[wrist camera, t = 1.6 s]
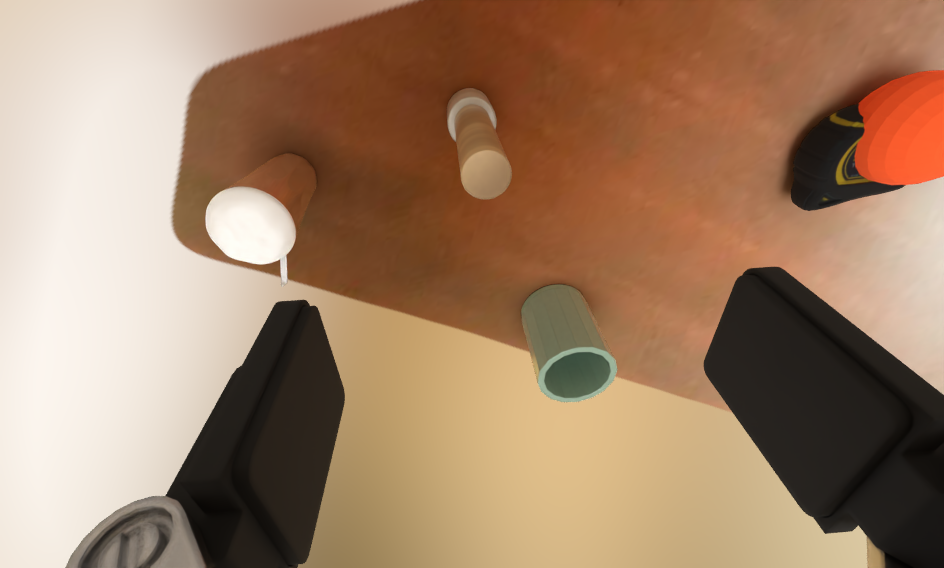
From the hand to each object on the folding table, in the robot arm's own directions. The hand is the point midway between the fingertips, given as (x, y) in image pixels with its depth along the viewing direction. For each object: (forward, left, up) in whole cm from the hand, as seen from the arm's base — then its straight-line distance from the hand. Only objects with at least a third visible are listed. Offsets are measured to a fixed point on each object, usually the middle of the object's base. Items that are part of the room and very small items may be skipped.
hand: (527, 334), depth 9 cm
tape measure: (+21, +18, -22) cm, 36 cm away
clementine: (+20, +21, -22) cm, 37 cm away
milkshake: (-5, -12, -22) cm, 26 cm away
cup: (+18, -6, -22) cm, 29 cm away
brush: (0, 0, -22) cm, 22 cm away
